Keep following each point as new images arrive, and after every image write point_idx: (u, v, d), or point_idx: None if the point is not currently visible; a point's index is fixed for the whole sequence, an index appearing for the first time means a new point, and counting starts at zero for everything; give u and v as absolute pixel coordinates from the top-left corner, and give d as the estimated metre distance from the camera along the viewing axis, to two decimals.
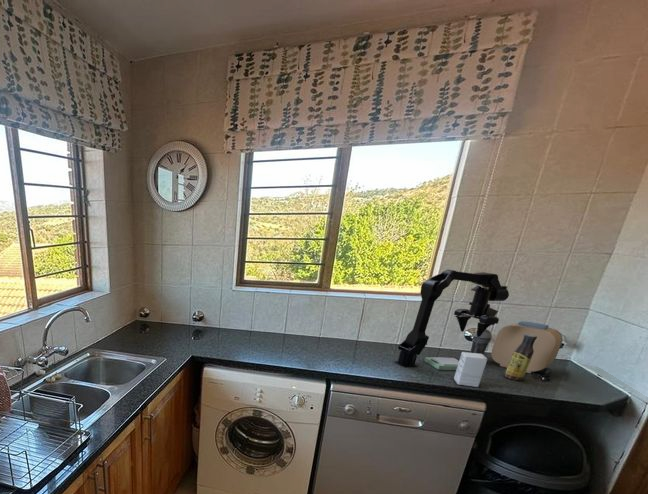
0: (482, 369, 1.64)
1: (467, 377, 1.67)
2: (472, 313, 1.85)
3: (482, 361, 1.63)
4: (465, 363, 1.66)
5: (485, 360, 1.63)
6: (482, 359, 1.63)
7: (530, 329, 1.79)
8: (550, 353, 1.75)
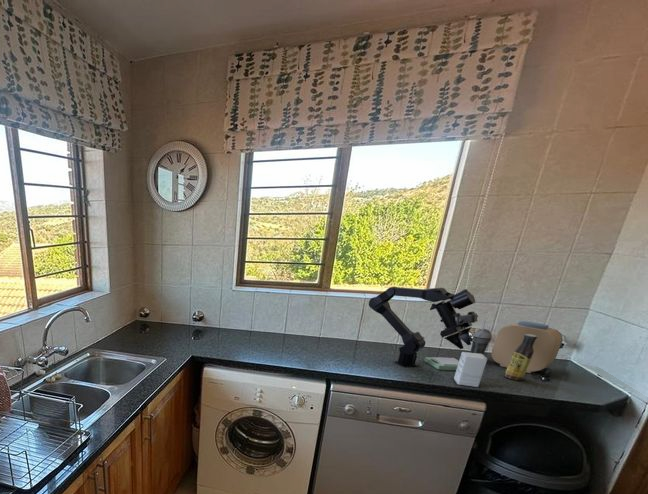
0: (482, 369, 1.64)
1: (467, 377, 1.67)
2: None
3: (482, 361, 1.63)
4: (465, 363, 1.66)
5: (485, 360, 1.63)
6: (482, 359, 1.63)
7: (530, 329, 1.79)
8: (550, 353, 1.75)
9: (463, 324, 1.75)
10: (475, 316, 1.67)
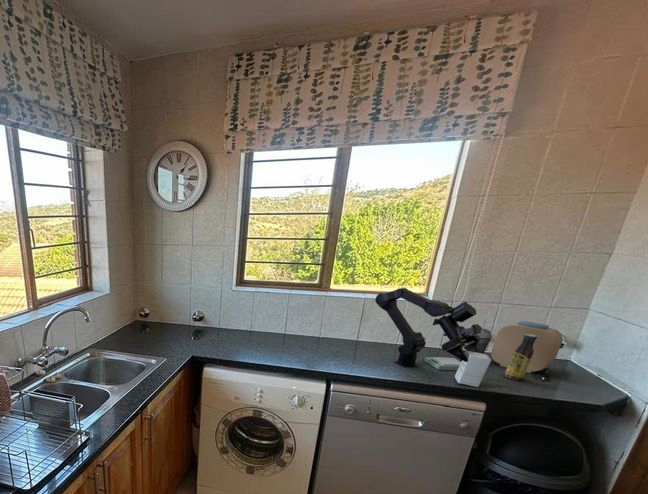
0: (484, 370, 1.63)
1: (468, 376, 1.67)
2: None
3: (485, 362, 1.62)
4: (468, 363, 1.65)
5: (489, 361, 1.62)
6: (486, 360, 1.62)
7: (530, 329, 1.79)
8: (550, 353, 1.75)
9: (470, 337, 1.71)
10: (477, 328, 1.64)
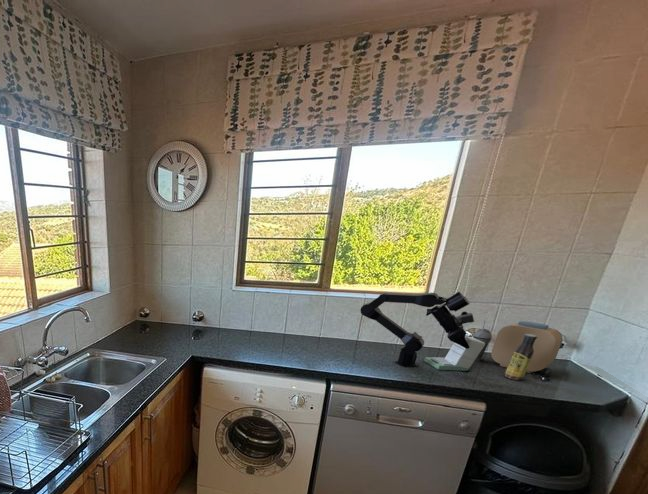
0: (478, 352, 1.75)
1: (464, 359, 1.76)
2: None
3: (481, 345, 1.73)
4: None
5: (483, 344, 1.73)
6: (482, 343, 1.73)
7: (530, 329, 1.79)
8: (550, 353, 1.75)
9: None
10: (472, 315, 1.72)
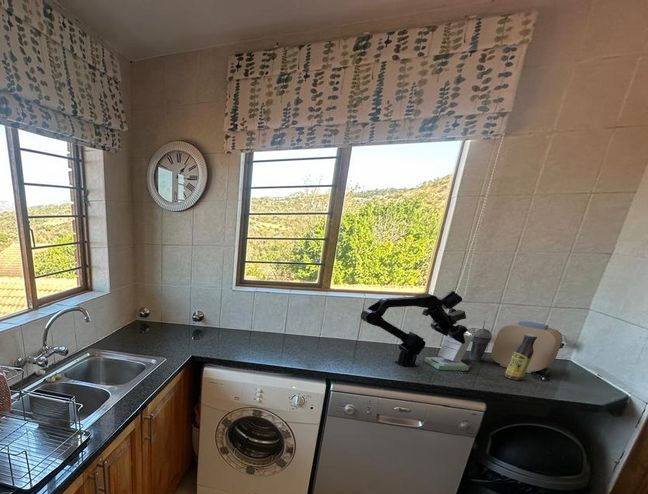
0: (467, 346, 1.86)
1: (459, 353, 1.85)
2: (441, 329, 1.84)
3: (470, 339, 1.84)
4: None
5: (472, 338, 1.85)
6: (471, 337, 1.84)
7: (530, 329, 1.79)
8: (550, 353, 1.75)
9: None
10: None
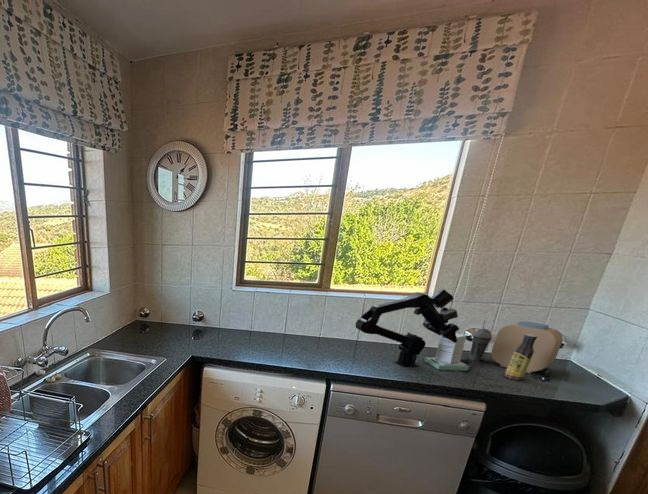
0: (463, 345, 1.86)
1: (455, 355, 1.85)
2: (433, 328, 1.85)
3: (464, 338, 1.84)
4: (456, 343, 1.83)
5: (465, 337, 1.84)
6: (464, 337, 1.84)
7: (530, 329, 1.79)
8: (550, 353, 1.75)
9: None
10: None
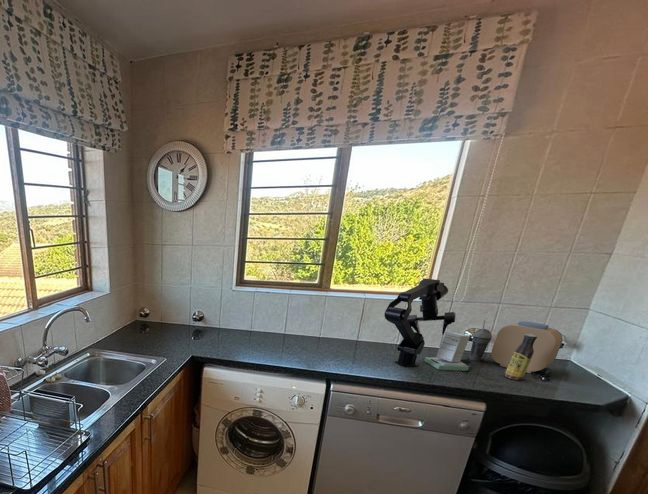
0: (465, 345, 1.86)
1: (457, 354, 1.85)
2: (431, 318, 1.85)
3: (467, 339, 1.84)
4: (459, 342, 1.83)
5: (469, 337, 1.85)
6: (467, 337, 1.84)
7: (530, 329, 1.79)
8: (550, 353, 1.75)
9: (416, 317, 1.93)
10: None
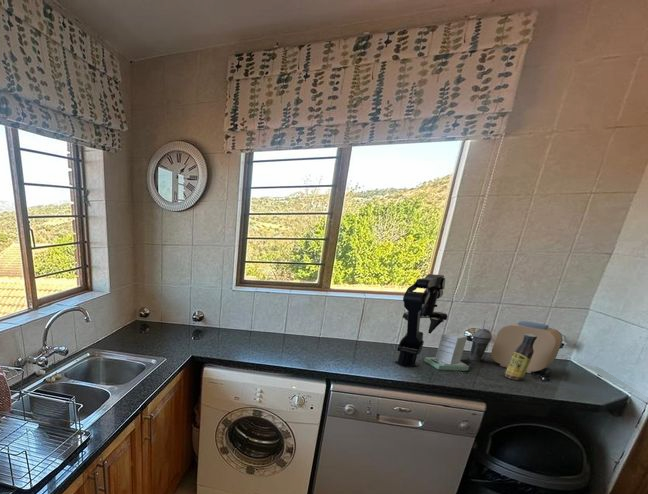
0: None
1: (456, 355, 1.85)
2: (431, 314, 1.90)
3: (464, 339, 1.84)
4: (456, 344, 1.83)
5: (466, 338, 1.84)
6: (465, 337, 1.84)
7: (530, 329, 1.79)
8: (550, 353, 1.75)
9: None
10: None
